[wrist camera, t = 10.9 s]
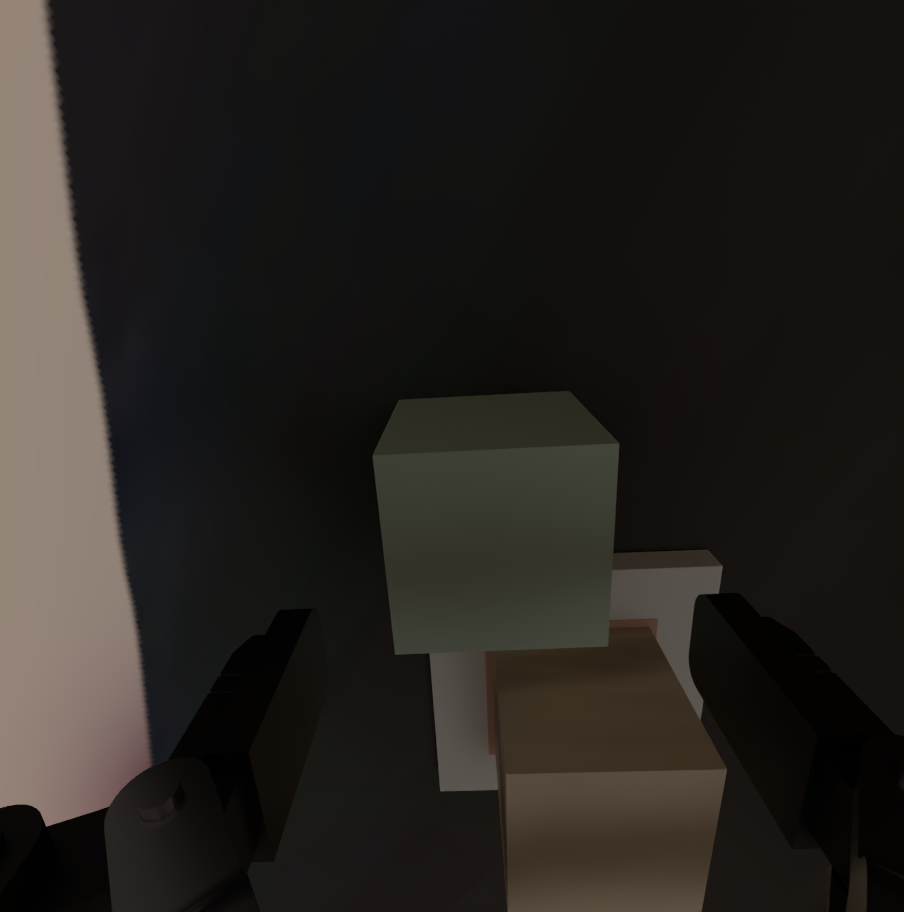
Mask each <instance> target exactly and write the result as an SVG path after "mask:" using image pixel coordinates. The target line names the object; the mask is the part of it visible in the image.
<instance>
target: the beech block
mask: <svg viewBox="0 0 904 912" xmlns="http://www.w3.org/2000/svg"><path fill="white" fill-rule="evenodd" d="M493 685H494V729H495V756H496V769H497V782H498V795H499V808H500V821H501V833H502V846H503V859H504V872H505V885H506V898H507V911H508V912H701V911H702V905H703V900H704V894H705V889H706V883H707V877H708V872H709V866H710V861H711V855H712V850H713V844H714V838H715V833H716V827H717V822H718V816H719V811H720V805H721V800H722V794H723V788H724V783H725V777H726V772H727V769H726V767H725V765H724V763H723V761H722V759H721V758H720V756H719V754H718V752H717V750H716V748H715V746H714V745H713V743H712V741H711V739H710V737H709V735H708V734H707V732H706V730H705V728H704V726H703V724H702V723H701V721H700V719H699V717H698V715H697V713H696V712H695V710H694V708H693V706H692V704H691V702H690V701H689V699H688V697H687V695H686V693H685V691H684V690H683V688H682V686H681V684H680V682H679V680H678V678H677V677H676V675H675V673H674V671H673V669H672V667H671V666H670V664H669V662H668V660H667V658H666V656H665V655H664V653H663V651H662V649H661V647H660V645H659V644H658V642H657V640H656V638H655V636H654V634H653V633H652V631H651V629H650V627H624V628H609V638H608V646H606V647H580V648H553V649H527V650H501V651H493Z"/></svg>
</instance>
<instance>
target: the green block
mask: <svg viewBox="0 0 904 912" xmlns="http://www.w3.org/2000/svg"><path fill="white" fill-rule="evenodd" d="M618 458H619V442H618V441H617V440H616V439H615V438H614V437H613V436H612V435H611V434H610V433H609V432H608V431H607V430H606V429H605V428H604V427H603V426H602V425H601V424H600V423H599V422H598V421H597V420H596V418H595V417H594V416H593V415H592V414H591V413H590V412H589V411H588V410H587V409H586V408H585V407H584V406H583V405H582V404H581V403H580V402H579V401H578V400H577V399H576V398H575V397H574V395H573V394H572V393H571V392H570V391H558V392H539V393H519V394H500V395H481V396H462V397H443V398H424V399H404V400H398V403H397V405H396V407H395V409H394V411H393V413H392V415H391V417H390V419H389V422H388V424H387V426H386V428H385V430H384V432H383V434H382V436H381V439H380V441H379V443H378V445H377V447H376V449H375V451H374V453H373V464H374V473H375V482H376V491H377V499H378V508H379V517H380V526H381V534H382V543H383V552H384V561H385V570H386V578H387V587H388V596H389V605H390V613H391V622H392V631H393V640H394V649H395V655H396V654H422V653H448V652H474V651H501V650H527V649H553V648H580V647H606V646H608V638H609V620H610V602H611V584H612V566H613V548H614V530H615V512H616V494H617V476H618Z"/></svg>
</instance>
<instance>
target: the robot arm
mask: <svg viewBox="0 0 904 912" xmlns="http://www.w3.org/2000/svg"><path fill="white" fill-rule="evenodd" d="M688 657H689V668H690V673H691V677H692V680H693V682H694V685H695V687H696V689H697V690H698V692H699V694H700V695H701V697H702V699H703V700H704V702H705V704H706V705H707V707H708V709H709V710H710V712H711V714H712V715H713V717H714V719H715V720H716V722H717V724H718V726H719V727H720V729H721V731H722V732H723V734H724V736H725V737H726V739H727V741H728V742H729V744H730V746H731V747H732V749H733V751H734V752H735V754H736V756H737V757H738V759H739V761H740V762H741V764H742V766H743V767H744V769H745V771H746V772H747V774H748V776H749V778H750V779H751V781H752V783H753V784H754V786H755V788H756V789H757V791H758V793H759V794H760V796H761V798H762V799H763V801H764V803H765V804H766V806H767V808H768V809H769V811H770V813H771V814H772V816H773V818H774V819H775V821H776V823H777V824H778V826H779V828H780V830H781V831H782V833H783V835H784V836H785V838H786V840H787V841H788V843H789V845H790V846H791V848H792V849H810V848H821V849H822V851H823V852H824V854H825V855H826V857H827V858H828V860H829V861H830V866H829V870H828V875H827V882H826V895H825V909H824V912H904V736H901V735H895V734H894V733H893V732H892V731H891V730H890V729H889V728H888V727H887V726H886V725H885V724H884V723H883V722H882V721H881V720H880V719H879V718H878V717H877V716H876V715H875V714H874V713H873V712H872V711H871V710H870V709H869V708H868V706H867V705H866V704H865V703H864V702H863V701H862V700H861V699H860V698H859V697H858V696H857V695H856V694H855V693H854V692H853V691H852V690H851V689H850V688H849V687H848V686H847V685H846V684H845V683H844V682H843V681H842V680H841V679H840V678H839V677H838V676H837V675H836V674H835V673H832V672H831V669H830V668H829V667H828V665H827V664H826V663H825V662H824V661H823V660H822V659H821V658H820V657H819V656H815V652H814V651H813V650H812V649H811V648H810V647H809V646H808V645H807V644H806V643H805V642H804V641H803V640H802V639H801V638H800V637H799V636H798V635H797V634H796V633H795V632H793V631H792V630H790V629H788V628H787V627H785V626H784V625H782V624H780V623H779V622H777V621H775V620H774V619H772V618H770V617H761V616H760V615H759V614H758V613H757V612H756V611H755V609H754V608H753V607H752V606H751V605H750V604H749V603H748V602H747V601H746V600H745V599H744V597H742V596H741V595H740V594H738V593H721V594H700V595H698V596H697V598H696V600H695V604H694V612H693V621H692V629H691V638H690V646H689V656H688ZM327 678H328V674H327V663H326V657H325V651H324V644H323V638H322V631H321V625H320V619H319V614H318V612H317V610H316V609H291V610H280V611H278V612H277V614H276V616H275V618H274V619H273V621H272V623H271V625H270V627H269V629H268V631H267V632H266V634H265V635H255V636H252V637H251V638H250V639H248V640H247V641H246V642H245V643H244V644H243V645H241V646H240V647H239V648H238V649H237V650H236V651H234V652H233V653H232V655H231V657H230V658H229V660H228V662H227V663H226V665H225V667H224V668H223V670H222V672H221V676H220V677H218V678H217V680H216V682H215V683H214V685H213V687H212V688H211V693H210V694H208V695H207V697H206V698H205V700H204V702H203V703H202V705H201V706H200V708H199V710H198V711H197V713H196V715H195V716H194V718H193V720H192V721H191V723H190V725H189V726H188V728H187V730H186V731H185V733H184V735H183V736H182V738H181V740H180V741H179V743H178V745H177V746H176V748H175V750H174V751H173V753H172V755H171V756H170V758H169V760H167V761H163V762H161V763H158V764H156V765H154V766H152V767H150V768H148V769H147V770H145V771H143V772H142V773H140V774H139V775H138V776H136V777H135V778H134V779H132V780H131V781H130V782H129V783H128V784H127V785H126V786H125V787H124V788H123V789H122V790H121V791H120V792H119V794H118V795H117V796H116V797H115V799H114V800H113V802H112V803H111V805H110V806H109V807H107V808H104V809H101V810H98V811H95V812H92V813H89V814H85V815H82V816H79V817H76V818H73V819H70V820H66V821H63V822H60V823H57V824H54V825H51V826H47V827H46V825H45V823H44V820H43V818H42V816H41V813H40V812H39V811H38V810H37V809H36V808H34V807H32V806H29V805H12V806H7V807H3V808H0V912H261V911H260V908H259V905H258V902H257V899H256V896H255V893H254V890H253V888H252V885H251V882H250V880H249V877H248V875H247V872H248V869H249V867H250V864H251V862H270V861H274V859H275V856H276V853H277V849H278V846H279V843H280V840H281V837H282V834H283V830H284V827H285V824H286V821H287V818H288V815H289V811H290V808H291V805H292V802H293V799H294V795H295V792H296V789H297V786H298V783H299V780H300V776H301V773H302V770H303V767H304V764H305V761H306V757H307V754H308V751H309V748H310V745H311V741H312V738H313V735H314V732H315V729H316V726H317V722H318V719H319V716H320V713H321V710H322V707H323V703H324V700H325V696H326V690H327Z"/></svg>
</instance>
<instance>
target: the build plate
mask: <svg viewBox="0 0 904 912" xmlns="http://www.w3.org/2000/svg"><path fill="white" fill-rule="evenodd" d="M722 567H723V566H722V565H721V564H720V563H719V562H718V560H717V559H716V558H715V557H714V556H713V555H712V554H711V553H710V552H709V551H708V550H684V551H657V552H630V553H613V566H612V584H611V602H610V620H609V628H624V627H650V629H651V631H652V633H653V634H654V636H655V638H656V640H657V642H658V644H659V645H660V647H661V649H662V651H663V653H664V655H665V656H666V658H667V660H668V662H669V664H670V666H671V667H672V669H673V671H674V673H675V675H676V677H677V678H678V680H679V682H680V684H681V686H682V688H683V690H684V691H685V693H686V695H687V697H688V699H689V701H690V702H691V704H692V706H693V708H694V710H695V712H696V713H697V715H698V717H699V719H700V720H701V713H702V706H703V699H702V697H701V695H700V694H699V692H698V690H697V689H696V687H695V685H694V682H693V680H692V677H691V673H690V668H689V657H688V656H689V646H690V638H691V629H692V621H693V612H694V604H695V600H696V598H697V596H698V595H700V594H719V588H720V581H721V574H722ZM430 665H431V678H432V691H433V704H434V716H435V729H436V742H437V754H438V767H439V780H440V791H471V790H498V782H497V769H496V756H495V729H494V685H493V651H474V652H448V653H430Z"/></svg>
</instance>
